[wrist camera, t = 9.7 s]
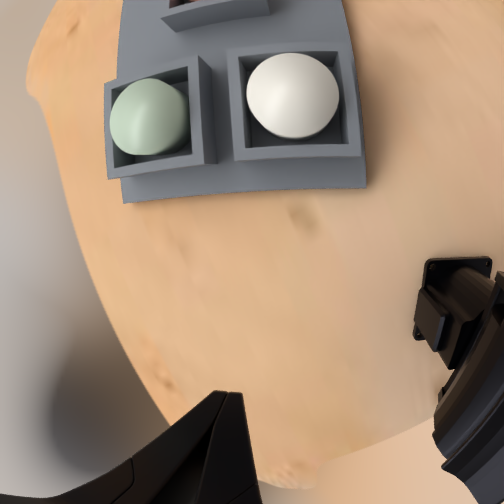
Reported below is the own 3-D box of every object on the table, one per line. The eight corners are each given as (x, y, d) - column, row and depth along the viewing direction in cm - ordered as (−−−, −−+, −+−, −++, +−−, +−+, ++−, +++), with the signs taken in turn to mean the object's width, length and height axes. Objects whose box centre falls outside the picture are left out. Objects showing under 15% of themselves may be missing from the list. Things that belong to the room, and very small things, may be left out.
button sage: (195, 83, 15) (175, 69, 12) (199, 150, 16) (179, 147, 13) (135, 98, 16) (109, 90, 13) (138, 160, 17) (111, 161, 14)
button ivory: (327, 71, 13) (333, 52, 11) (334, 140, 15) (343, 134, 12) (253, 74, 14) (243, 57, 11) (258, 143, 15) (249, 138, 13)
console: (322, -49, 11) (323, -75, 7) (362, 187, 16) (377, 192, 13) (131, -14, 13) (111, -31, 10) (130, 201, 19) (101, 209, 16)
